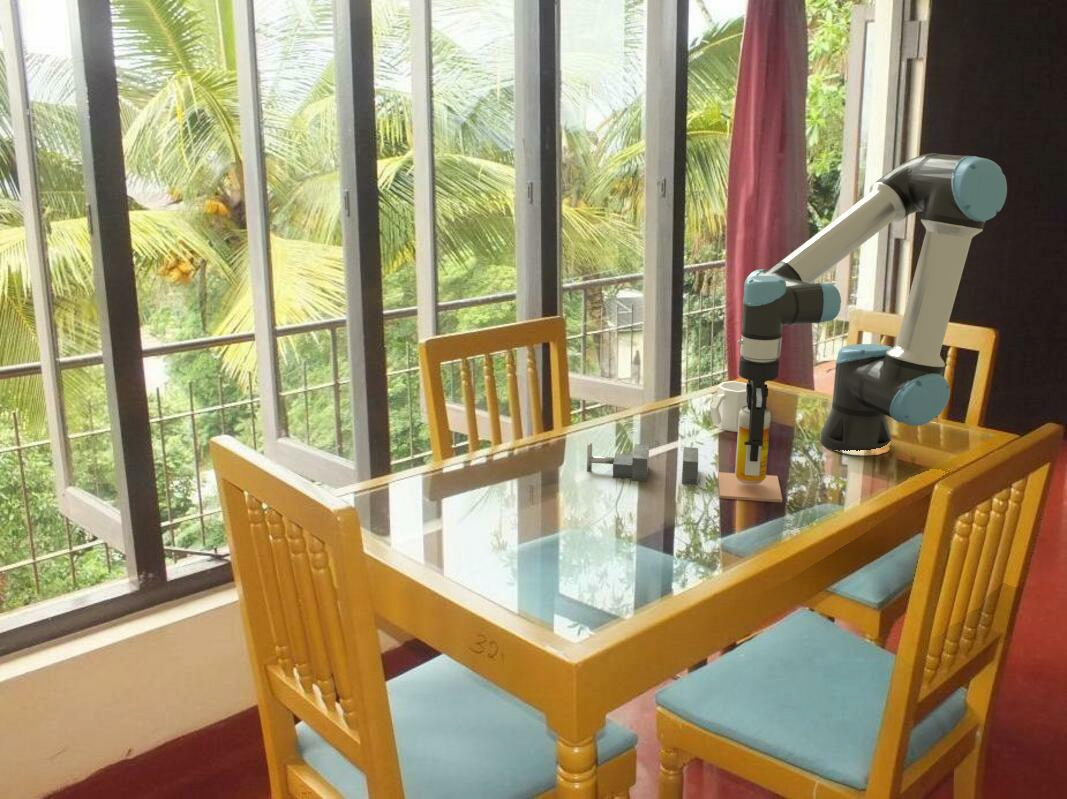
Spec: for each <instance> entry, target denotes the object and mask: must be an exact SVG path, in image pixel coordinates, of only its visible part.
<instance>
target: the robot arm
mask: <svg viewBox="0 0 1067 799" xmlns="http://www.w3.org/2000/svg"><path fill="white" fill-rule="evenodd" d="M868 192H869V193H868V194H866V195H865V196H864V197H863V198H861V199H860V200H858V201H857V202H856V203H854V204H853V205H851V206H850V207H849V208H848V209H847V210H846V211H844V212H843V213H842V214H840V215H839V216H838V217H836V218H835V219H833V220H832V221H831V222H830V223H829V224H827V225H826V226H825V227H824V228H821V229H820V230H819V231H818V232H817V233H815V234H814V235H812V237H811V238H809V239H807V241H805V242H804V243H803V244H801V245H800V246H799V247H797V248H796V249H795V250H794V251H792V252H791V253H789V254H788V255H787V256H786V257H784V258H783V259H782V260H781V261H779V262H778V263H776V264H775V265H774V266H773V267H771V268H770V269H766V268H765V269H764V268H763V269H762V268H761V269H756V270H754V271H752V272H750V274H748V276H747V277H746V279H745V281H744V285H743V299H742V303H743V304H742V318H741V320H742V321H741V335H740V336H741V338H740V339H738V340H737V344H738V345H740V352H739V353H740V355H741V357H739V360H738V363H739V364H738V376H740V377H741V378H742V379H745V380H747V382H748V383H747V385H746V392H747V397H746V400H747V405H748V409H749V410H750V422H749V439H748V442H744V445H747V452H746V465H745V475H751V476H759V471H760V458H761V446H762V445H763V430H764V416H765V409H766V407H767V398H768V396H769V388H768V384H767V383H766V382H768V381H771V382H772V381H773V380H774V381H775V380H776V379H778V377H779V370H780V360H779V359H778V358H780V357H781V351H782V339H783V338H782V337H783V336H782V335H783V326H792V325H793V326H794V325H795V326H797V325H805V324H807V325H808V324H820V323H826V322H830V321H833V320H835V319H836V318H837V317H838V316H839V313H840V311H841V308H842V307H841V306H842V298H841V293H840V291H839V289H838V288H837V286H835V285H834V284H833V283H831V282H817V283H814V282H815V281H816V280H818V279H820V278H821V277H822V276H823V275H824V274H825V273H827V272H828V271H829V270H831V269H832V268H833V267H835V266H836V265H837V264H839V263H840V262H841V261H842V260H844V259H846V257H848V256H849V255H850V254H852V252H854V251H856V249H858V248H859V247H861V246H862V245H863V244H865V242H867V241H868V240H870V239H871V238H872V237H874V236H875V235H876V234H878V233H879V232H881V231H882V230H883V229H885V227H887V226H888V225H890V224H891V223H892V222H895V223H898V222H901V221H902V220H904V219H905V218H906V217H908V216H910V215H911V214H915V213H918V212H922V213H921V218H920V222H921V224H922V225H923V226H924V228H925V234H924V238H923V242H922V246H921V250H920V253H919V256H918V261H917V264H916V268H915V272H914V274H913V275H914V276H913V278H912V279H913V280H912V282H911V288H910V290H909V294H908V295H909V296H908V298H907V302H906V306H905V309H904V314H903V317H902V321H901V325H900V329H899V333H898V336H897V341H896V344H895V345H894V346H893V347H892V346H889V345H887V344H878V343H877V344H875V343H873V344H872V343H862V344H861V343H859V344H857V343H856V344H849V345H845V346H842V347H841V348H840V349H839V350H838V352H837V358H836V362H835V371H834V380H833V381H834V382H833V383H834V384H833V392H832V393H833V394H832V396H833V397H832V402H831V403H832V404H831V410H830V412H829V413H828V417H827V418H826V421H824V422H825V423H824V424H823V427H822V429H821V432H820V439H819V441H820V444H821V445H822V446H823V447H825V448H826V449H829V450H830V449H832V450H831V451H833V450H838V451H840V450H844V451H845V450H846V451H848V450H849V451H850V450H856V451H858V450H859V451H860V450H871V449H876V448H881V447H883V446H885V445H887V444H888V443H889V442H890V441H891V442H892V435H891V432H890V427H889V422H888V419H887V417H889V418H891V419H892V420H893V421H896V422H898V423H904V424H906V425H908V426H911V427H912V426H913V427H915V426H916V427H919V426H924V425H926V424H929V423H930V422H932V421H933V420H934V419H936V418H937V417H938V416H940V415H941V414H942V413H943V411H944V410H945V408H946V407H947V404H948V402H949V400H950V395H951V387H950V386H949V382H948V381H947V379H946V378H945V377H944V376H943V374H944V370H945V366H946V363H945V362H944V360H943V358H942V356H941V350H942V347H943V343H944V340H945V337H946V333H947V330H948V326H949V322H950V319H951V315H952V312H953V308H954V304H955V300H956V298H957V292H958V290H959V285H960V282H961V279H962V276H963V270H964V268H965V264H966V261H967V258H968V253H969V250H970V247H971V243H972V239H973V238H974V237H975V236H976V235H978V234H981V232H983V231H984V230H983V229H984V228H985V223H986V221H988V220H990V219H993V218H994V217H996V216H997V213H999V212H1000V211H1001V210H1002V208H1003V206H1004V205H1005V202H1006V199H1007V194H1008V184H1007V179H1006V175H1005V174H1004V173H1003V169H1002V168H1001V167H1000V166H999V165H998V164H997V162H995V161H993V160H991V159H989V158H985V157H979V156H976V155H973V156H972V155H959V154H955V155H954V154H943V153H938V152H936V153H934V152H931V153H930V152H929V153H926V154H922V155H919V156H916V157H913V158H911V159H909V160H907V161H905V162H904V163H901V164H900V165H898V166H896V167H895V168H893V169H892V170H890V171H889V172H887V173H886V174H885V175H883V176H881V177H880V178H879V179H878V180H877V181H875V182H873V183H872V185H870V187H869V191H868Z"/></svg>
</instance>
